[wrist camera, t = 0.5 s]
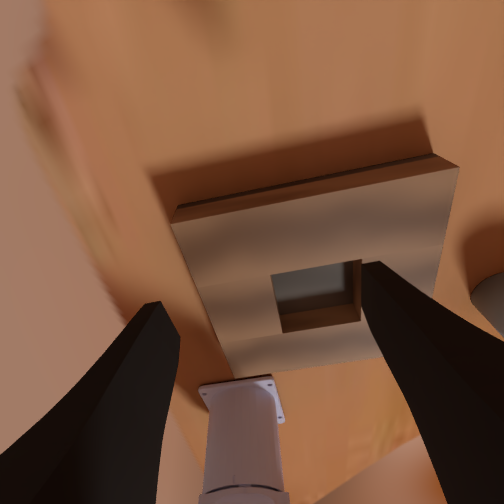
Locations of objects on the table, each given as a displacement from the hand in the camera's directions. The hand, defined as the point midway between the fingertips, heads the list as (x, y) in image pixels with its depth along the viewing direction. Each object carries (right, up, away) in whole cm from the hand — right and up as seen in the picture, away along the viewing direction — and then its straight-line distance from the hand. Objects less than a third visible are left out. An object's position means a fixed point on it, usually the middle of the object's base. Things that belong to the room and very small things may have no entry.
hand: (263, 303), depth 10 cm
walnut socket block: (+4, 0, +12) cm, 13 cm away
